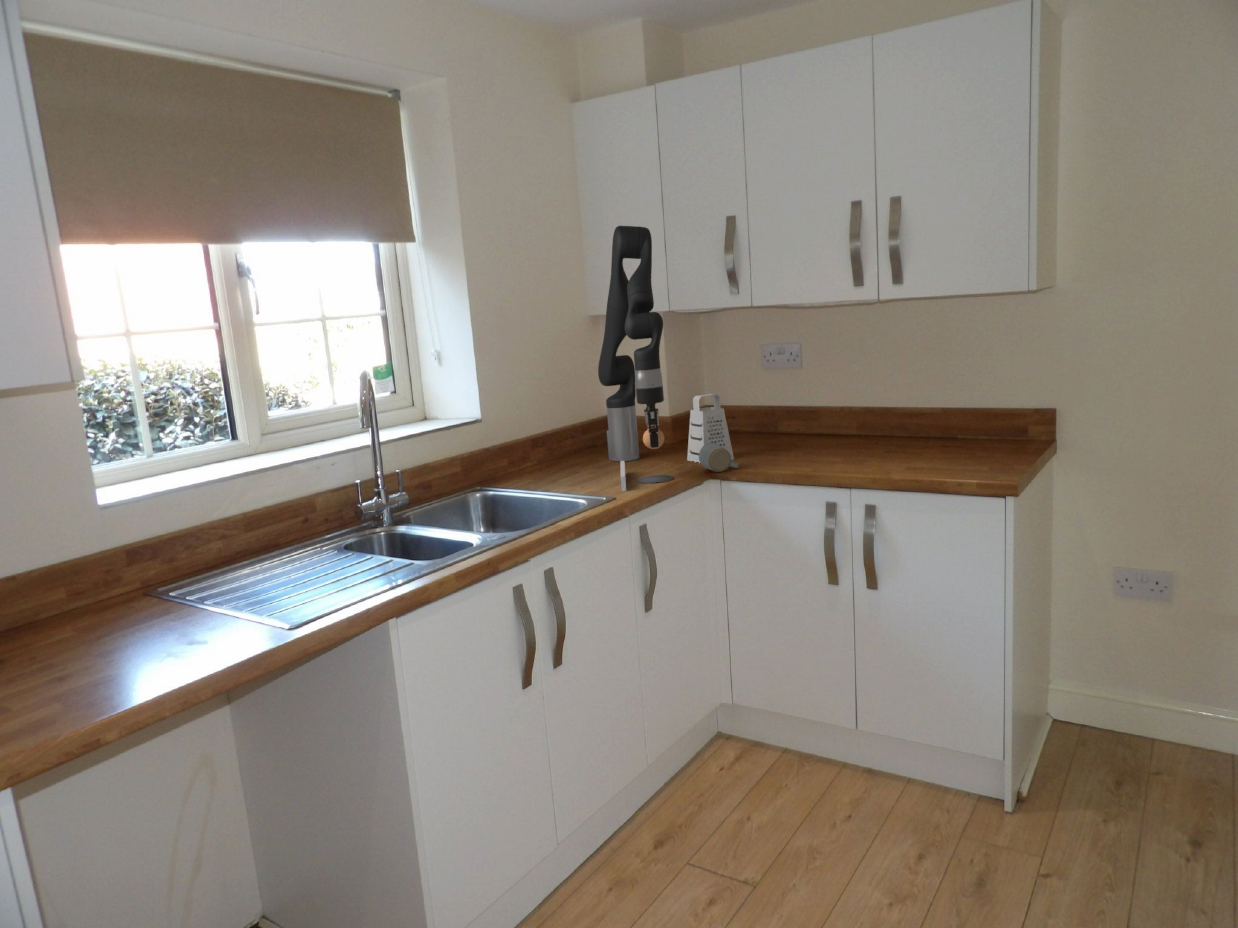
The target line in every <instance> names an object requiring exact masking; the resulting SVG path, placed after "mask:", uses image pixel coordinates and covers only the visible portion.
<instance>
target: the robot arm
mask: <svg viewBox="0 0 1238 928" xmlns="http://www.w3.org/2000/svg"><path fill="white" fill-rule="evenodd" d="M611 243H612V246H611V264H610V265H611V269H610V278H609V279H610V280H609V288H608V293H607V295H608V296H607V302H606V313H605V322H604V323H605V324H604V333H603V339H602V346H601V351H600V356H599V360H598V367H597V371H598V372H597V374H598V376H597V377H598V381H599V383H600V384H601V385H602V386H604V387H614V386H619V388H618V389H617V391H616V392H615V393H614V394H612V395H610V396H609V397H607V398H606V399H605V401H606V402H605V404H606V416H607V425H608V426H607V428H608V429H607V430H606V438H607V439H606V440H607V441H606V442H607V452H608V460H610V461H613V462H620V461H625V462H628V461H635V460H638V459H640V449H639V448H640V447H639V445H640V443H639V434H638V422H637V421H638V419H637V411H636V410H637V409H636V408H637V407H636V403H637V404H639V405H646V407H645V409H643V413H644V414H643V415H644V417H645V425H646V427H647V430H648V429H649V434H650V444H651V447H652V448H654V447H658V446H659V444H658V431H659V425H660V423H659V422H660V420H659V416H660V411H659V408H656V404H659V403H663V402H664V401H665V396H664V385H663V375H662V374H663V373H662V370H661V360H660V359H661V358H660V347H661V339H662V335H663V331H664V329H663V328H664V319H663V317H662V315H661V314H660V313H659V312H657V311H653V310H654V309H653V308H654V306H655V301H654V294H653V287H652V270H653V269H652V266H653V263H652V262H653V257H652V255H653V253H652V251H653V242H652V234H651V230H650V229H649V228H648V227H645V226H637V225H636V226H634V225H633V226H632V225H617V226H616V227H615V228H614V231H613V235H612V242H611ZM624 259H629V260H630V259H631V260H632V259H633V260H640V263H639V264H638V265H637V268H636V269H635V270H634V272H633V273H632V275H631V277H630V278H629V279H628V276H627V275H626V272H625V269H624V263H623V262H624ZM626 337H628V338H629V339H630V340H633V341H635V340H647V339H651V341H650V342H649V344H648V345H646V346H643V347H640V348H637V349H635V350H634V352H633V358H634V359H632V357H631V356H630V355H627V354H623V355H617V352H618V349H619V347H620V345H621V344H622V342H623V340H624V339H625V338H626Z"/></svg>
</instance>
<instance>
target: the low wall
mask: <svg viewBox="0 0 1238 928" xmlns="http://www.w3.org/2000/svg"><path fill="white" fill-rule="evenodd" d="M619 462H620V463H619V464H620V466H619V467H620V486H621V487H620V488H621V492H627V477H626V464H625V462H626V461H619Z"/></svg>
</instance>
